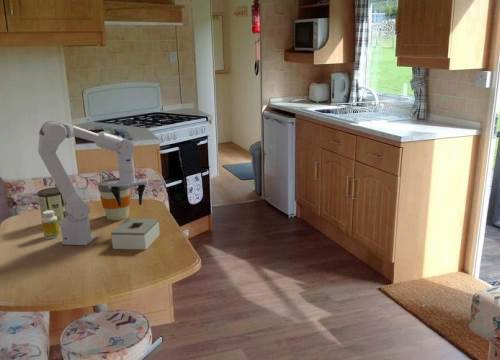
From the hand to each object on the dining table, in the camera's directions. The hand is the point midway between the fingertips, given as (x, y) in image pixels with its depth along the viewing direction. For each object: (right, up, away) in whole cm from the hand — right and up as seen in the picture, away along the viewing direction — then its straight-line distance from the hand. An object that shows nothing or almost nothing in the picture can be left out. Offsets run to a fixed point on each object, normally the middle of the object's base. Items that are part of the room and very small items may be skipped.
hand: (130, 204), depth 184 cm
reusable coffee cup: (-9, -6, +17) cm, 20 cm away
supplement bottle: (-29, -12, -2) cm, 31 cm away
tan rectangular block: (+5, -13, -11) cm, 18 cm away
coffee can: (-33, -8, +11) cm, 35 cm away
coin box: (+5, -12, -11) cm, 18 cm away
